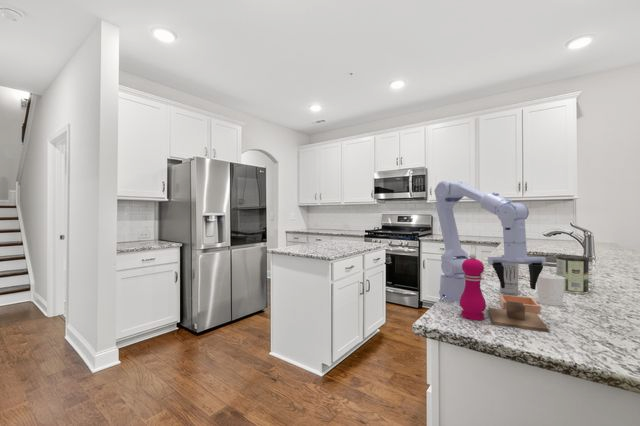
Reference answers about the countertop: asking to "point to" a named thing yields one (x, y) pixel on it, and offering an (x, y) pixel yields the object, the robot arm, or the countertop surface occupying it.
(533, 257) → the robot arm
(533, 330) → the mat
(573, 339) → the countertop surface
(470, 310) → the pepper mill
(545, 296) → the white cup
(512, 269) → the energy drink can
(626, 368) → the countertop surface
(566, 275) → the coffee can
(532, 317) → the lid
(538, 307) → the dish
